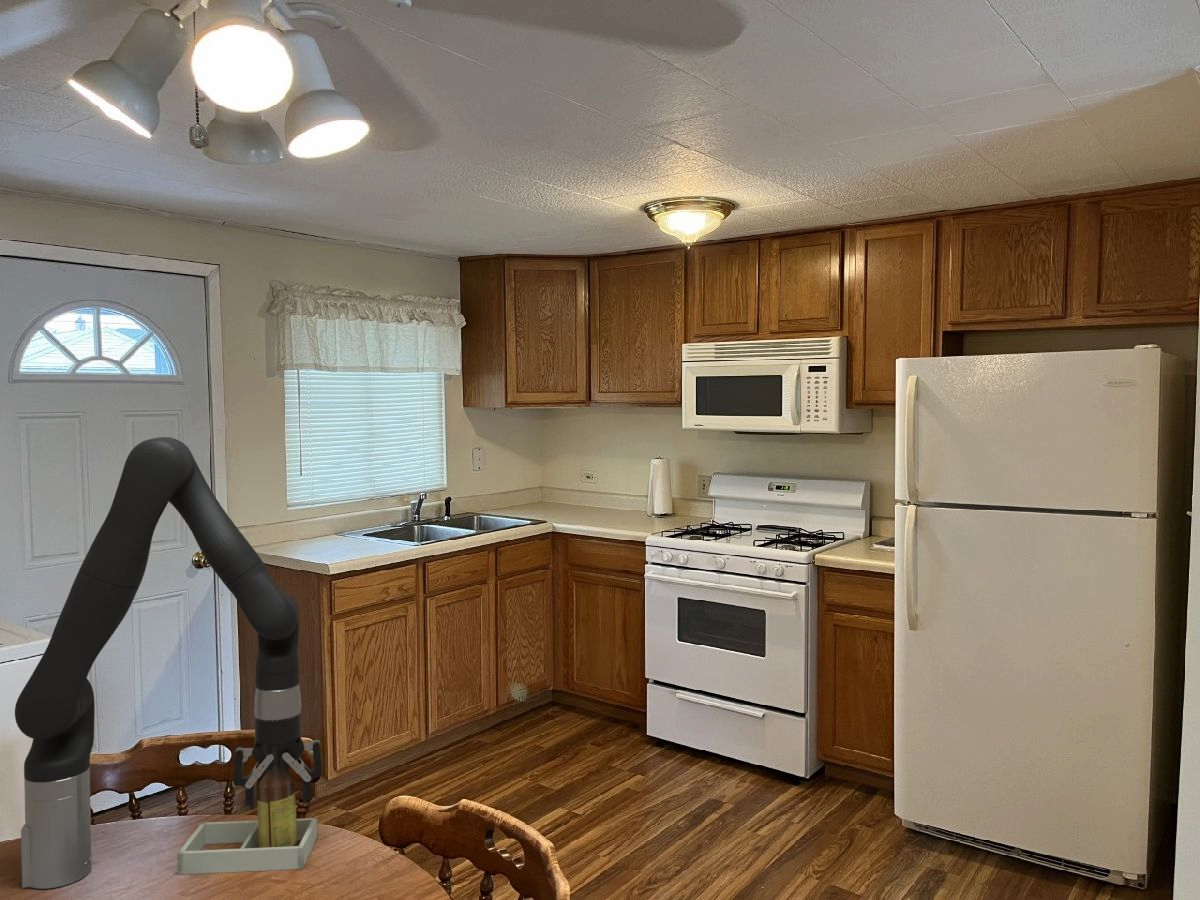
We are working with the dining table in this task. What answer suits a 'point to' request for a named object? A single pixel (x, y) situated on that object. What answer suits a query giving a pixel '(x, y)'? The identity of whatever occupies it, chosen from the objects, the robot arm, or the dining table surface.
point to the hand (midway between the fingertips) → (279, 804)
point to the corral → (243, 849)
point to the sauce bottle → (276, 803)
